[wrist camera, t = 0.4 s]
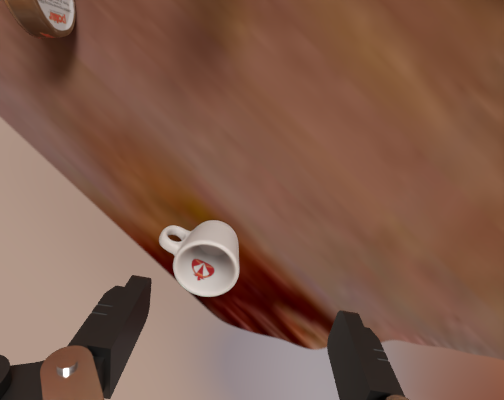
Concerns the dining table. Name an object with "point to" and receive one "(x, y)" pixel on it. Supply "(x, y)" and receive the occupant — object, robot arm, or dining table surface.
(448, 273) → the dining table surface
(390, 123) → the dining table surface
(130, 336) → the robot arm
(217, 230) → the cup
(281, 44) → the dining table surface
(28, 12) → the tin
